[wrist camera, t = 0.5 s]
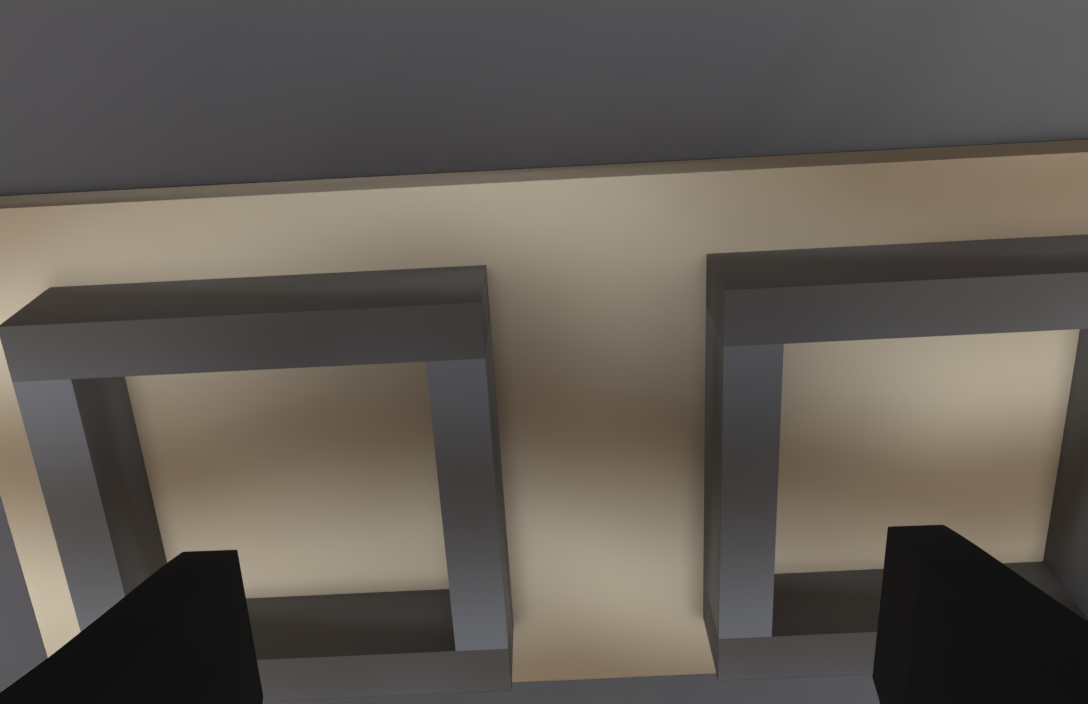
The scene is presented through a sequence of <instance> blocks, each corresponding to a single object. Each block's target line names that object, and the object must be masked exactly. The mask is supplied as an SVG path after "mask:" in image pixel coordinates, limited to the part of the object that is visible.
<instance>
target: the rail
mask: <svg viewBox="0 0 1088 704" xmlns="http://www.w3.org/2000/svg"><path fill="white" fill-rule="evenodd" d="M0 495H1V499H2V502H3V506H4V509H5V512H6V516H7V519H8V523H9V526H10V530H11V533H12V536H13V540H14V543H15V547H16V550H17V554H18V557H19V560H20V564H21V567H22V571H23V574H24V577H25V581H26V584H27V588H28V591H29V595H30V598H31V601H32V605H33V608H34V612H35V615H36V619H37V622H38V625H39V629H40V632H41V636H42V639H43V643H44V646H45V649H46V653H47V656H48V658H49V657H50V656H51V655H52V654H54V653H55V652H56V651H57V650H59V649H60V648H61V647H62V646H64V645H65V644H66V643H67V642H69V641H70V640H71V639H72V638H74V637H75V636H76V635H78V634H79V633H80V632H81V631H83V630H84V629H85V628H86V627H88V626H89V625H90V624H91V623H93V622H94V621H95V620H96V619H98V618H99V617H100V616H101V615H103V614H104V613H105V612H106V611H108V610H109V609H110V608H111V607H113V606H114V605H115V604H116V603H117V602H119V601H120V600H121V599H122V598H124V597H125V596H126V595H127V594H129V593H130V592H131V591H132V590H133V589H135V588H136V587H137V586H138V585H140V584H141V583H142V582H143V581H145V580H146V579H147V578H148V577H150V576H151V575H152V574H153V573H155V572H156V571H157V570H158V569H160V568H161V567H162V566H164V565H165V564H166V563H168V562H169V561H170V560H172V559H173V558H175V557H176V556H177V555H179V554H180V553H182V552H187V551H215V550H237V551H238V557H239V563H240V568H241V574H242V579H243V585H244V591H245V596H246V602H247V608H248V613H249V619H250V624H251V630H252V636H253V641H254V647H255V652H256V658H257V664H258V669H259V675H260V681H261V686H262V692H263V702H267V701H289V700H312V699H334V698H356V697H378V696H400V695H423V694H445V693H467V692H489V691H511V690H512V682H532V681H554V680H577V679H599V678H621V677H643V676H665V675H687V674H709V673H716V674H717V678H718V681H733V680H756V679H778V678H800V677H822V676H844V675H867V674H873V666H874V656H875V647H876V637H877V627H878V618H879V608H880V598H881V588H882V579H883V569H884V559H885V550H886V540H887V530H888V527H891V526H920V525H945V526H947V527H948V528H950V529H952V530H953V531H955V532H957V533H958V534H960V535H961V536H963V537H964V538H966V539H968V540H969V541H971V542H972V543H974V544H975V545H977V546H978V547H979V548H981V549H982V550H984V551H985V552H987V553H988V554H990V555H991V556H993V557H994V558H996V559H997V560H998V561H1000V562H1001V563H1003V564H1004V565H1006V566H1007V567H1009V568H1010V569H1011V570H1013V571H1014V572H1016V573H1017V574H1019V575H1020V576H1022V577H1023V578H1024V579H1026V580H1027V581H1029V582H1030V583H1032V584H1033V585H1035V586H1036V587H1037V588H1039V589H1040V590H1042V591H1043V592H1045V593H1046V594H1048V595H1049V596H1051V597H1052V598H1054V599H1055V600H1056V601H1058V602H1059V603H1061V604H1062V605H1064V606H1065V607H1067V608H1068V609H1070V610H1071V611H1073V612H1074V613H1076V614H1077V615H1079V616H1080V617H1082V618H1083V619H1085V620H1086V621H1088V139H1086V140H1066V141H1047V142H1028V143H1009V144H990V145H971V146H952V147H933V148H913V149H894V150H875V151H856V152H837V153H818V154H799V155H779V156H760V157H741V158H722V159H703V160H684V161H665V162H646V163H626V164H607V165H588V166H569V167H550V168H531V169H512V170H492V171H473V172H454V173H435V174H416V175H397V176H378V177H358V178H339V179H320V180H301V181H282V182H263V183H244V184H225V185H205V186H186V187H167V188H148V189H129V190H110V191H91V192H71V193H52V194H33V195H14V196H0Z"/></svg>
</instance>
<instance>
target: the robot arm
mask: <svg viewBox="0 0 1088 704" xmlns="http://www.w3.org/2000/svg"><path fill="white" fill-rule="evenodd" d="M872 677H873V680H874V684H875V687H876V690H877V694H878V697H879V700H880V704H1088V621H1086V620H1085V619H1083V618H1082V617H1080V616H1079V615H1077V614H1076V613H1074V612H1073V611H1071V610H1070V609H1068V608H1067V607H1065V606H1064V605H1062V604H1061V603H1059V602H1058V601H1056V600H1055V599H1054V598H1052V597H1051V596H1049V595H1048V594H1046V593H1045V592H1043V591H1042V590H1040V589H1039V588H1037V587H1036V586H1035V585H1033V584H1032V583H1030V582H1029V581H1027V580H1026V579H1024V578H1023V577H1022V576H1020V575H1019V574H1017V573H1016V572H1014V571H1013V570H1011V569H1010V568H1009V567H1007V566H1006V565H1004V564H1003V563H1001V562H1000V561H998V560H997V559H996V558H994V557H993V556H991V555H990V554H988V553H987V552H985V551H984V550H982V549H981V548H979V547H978V546H977V545H975V544H974V543H972V542H971V541H969V540H968V539H966V538H964V537H963V536H961V535H960V534H958V533H957V532H955V531H953V530H952V529H950V528H948V527H947V526H945V525H920V526H891V527H888V530H887V540H886V550H885V559H884V569H883V579H882V588H881V598H880V608H879V618H878V627H877V637H876V647H875V656H874V666H873V676H872ZM262 702H263V692H262V686H261V681H260V675H259V669H258V664H257V658H256V652H255V647H254V641H253V636H252V630H251V624H250V619H249V613H248V608H247V602H246V596H245V591H244V585H243V579H242V574H241V568H240V563H239V557H238V551H237V550H215V551H187V552H182V553H180V554H179V555H177V556H176V557H175V558H173V559H172V560H170V561H169V562H168V563H166V564H165V565H164V566H162V567H161V568H160V569H158V570H157V571H156V572H155V573H153V574H152V575H151V576H150V577H148V578H147V579H146V580H145V581H143V582H142V583H141V584H140V585H138V586H137V587H136V588H135V589H133V590H132V591H131V592H130V593H129V594H127V595H126V596H125V597H124V598H122V599H121V600H120V601H119V602H117V603H116V604H115V605H114V606H113V607H111V608H110V609H109V610H108V611H106V612H105V613H104V614H103V615H101V616H100V617H99V618H98V619H96V620H95V621H94V622H93V623H91V624H90V625H89V626H88V627H86V628H85V629H84V630H83V631H81V632H80V633H79V634H78V635H76V636H75V637H74V638H72V639H71V640H70V641H69V642H67V643H66V644H65V645H64V646H62V647H61V648H60V649H59V650H57V651H56V652H55V653H54V654H52V655H51V656H50V657H49V658H47V659H46V660H45V661H43V662H42V663H41V664H39V665H38V666H37V667H35V668H34V669H32V670H31V671H30V672H28V673H27V674H26V675H24V676H23V677H21V678H20V679H19V680H17V681H16V682H15V683H13V684H12V685H11V686H9V687H8V688H6V689H5V690H4V691H2V692H1V693H0V704H262Z"/></svg>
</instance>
